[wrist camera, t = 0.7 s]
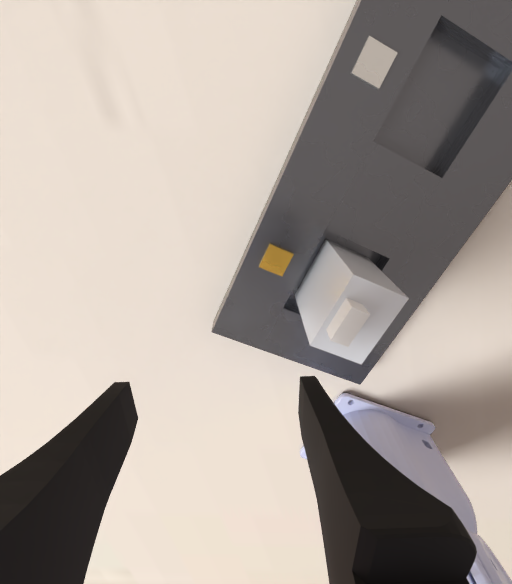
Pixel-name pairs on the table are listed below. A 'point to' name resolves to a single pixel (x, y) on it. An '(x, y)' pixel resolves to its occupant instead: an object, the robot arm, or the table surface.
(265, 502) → the table surface
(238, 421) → the table surface
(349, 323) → the plug
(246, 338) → the panel
